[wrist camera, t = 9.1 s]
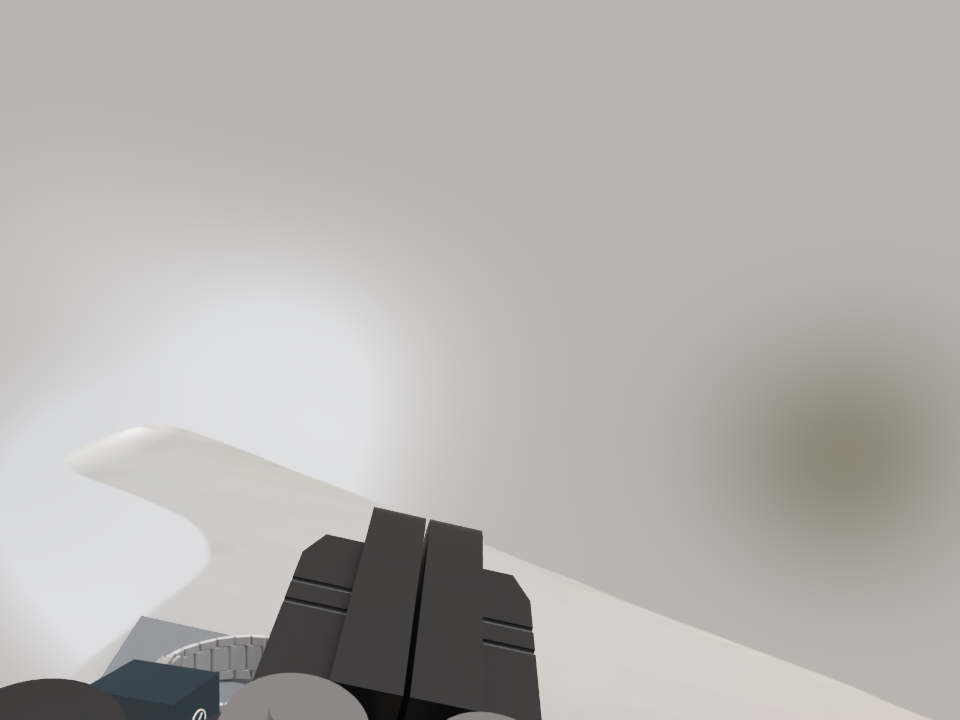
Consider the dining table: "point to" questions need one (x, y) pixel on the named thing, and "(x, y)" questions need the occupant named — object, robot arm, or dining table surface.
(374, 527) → the robot arm
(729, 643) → the dining table surface
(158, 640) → the mat
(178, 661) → the watch
